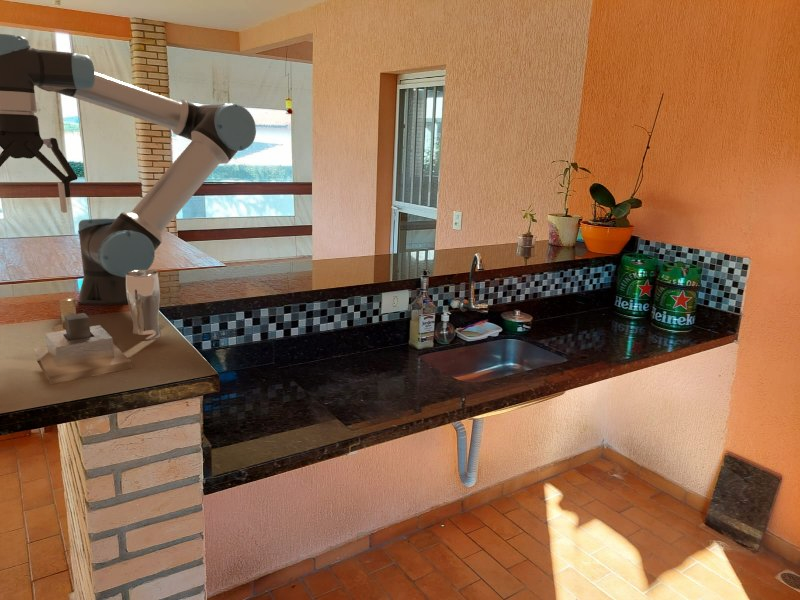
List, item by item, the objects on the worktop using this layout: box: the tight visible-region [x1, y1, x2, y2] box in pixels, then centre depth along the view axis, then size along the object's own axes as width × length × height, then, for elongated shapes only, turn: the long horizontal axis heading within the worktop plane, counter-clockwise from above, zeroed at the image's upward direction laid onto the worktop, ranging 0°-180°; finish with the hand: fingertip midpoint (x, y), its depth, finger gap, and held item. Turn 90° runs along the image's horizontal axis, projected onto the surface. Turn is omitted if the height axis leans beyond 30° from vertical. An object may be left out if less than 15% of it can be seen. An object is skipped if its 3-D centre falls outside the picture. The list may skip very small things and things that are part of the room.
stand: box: [52, 297, 77, 332], centre depth 134 cm, size 7×7×8 cm
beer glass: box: [126, 269, 162, 342], centre depth 133 cm, size 7×7×15 cm
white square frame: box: [45, 324, 114, 367], centre depth 118 cm, size 10×10×4 cm
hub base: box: [32, 312, 132, 385], centre depth 117 cm, size 14×18×10 cm
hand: (29, 213), depth 131 cm, fingers open, 13 cm apart
